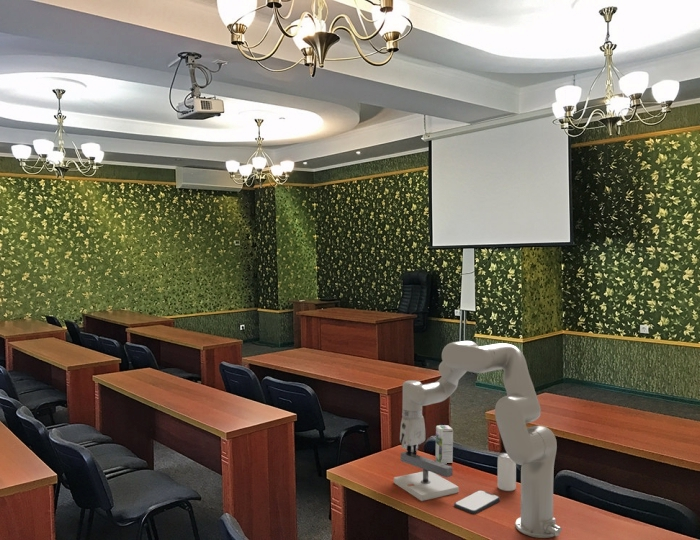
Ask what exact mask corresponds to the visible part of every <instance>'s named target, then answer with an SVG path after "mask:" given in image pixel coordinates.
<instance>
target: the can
mask: <svg viewBox="0 0 700 540" xmlns="http://www.w3.org/2000/svg"><path fill="white" fill-rule="evenodd" d="M497 488H498V489H499V490H500V491H504V492H513V491H515V490H516V488H517V464H516V463H515V462H513V461H512V460H511V459H510V458H509V456H508V454H507V452H501V453H498V457H497Z"/></svg>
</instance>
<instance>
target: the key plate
mask: <svg viewBox="0 0 700 540" xmlns="http://www.w3.org/2000/svg"><path fill="white" fill-rule="evenodd" d="M393 483H394V484H395V485H397V486H398V487H400V488H401V489H402V490H404V491H406V492H408V493H409V494H410V495H411V496H413V497H415V498H417V500H419V501H421V502H424V501H427V500H432V499H437V498H440V497H445V496H448V495H454V494H457V493H459V492H460V491H459V490H460V488H459V486H458V485H456V484H455V483H453V482H451V481H450V480H447V479H446V478H445V477H443V476H441V475H439V474H436V473H433V472H430V471H428V482H427V483H425V482H423V471H419V472H415V473H409V474H404V475H399V476H394V477H393Z"/></svg>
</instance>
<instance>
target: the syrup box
mask: <svg viewBox="0 0 700 540" xmlns="http://www.w3.org/2000/svg"><path fill="white" fill-rule="evenodd" d="M453 447H454V429H453V428H452V427H451V426H449V425H446V424H444V425H443V424H439V425H436V426H435V461H436V462H439V463H442V464H445V465H448V464H447V463H453V460H454V459H453V458H454V457H453V456H454V454H453V453H454V452H453V450H454V448H453ZM453 464H454V463H453Z"/></svg>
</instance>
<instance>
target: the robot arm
mask: <svg viewBox="0 0 700 540" xmlns="http://www.w3.org/2000/svg"><path fill="white" fill-rule="evenodd" d="M441 360H442V361H441V362H440V363H439V365H438V372H439V375H440V376H441V377H440V378H439V379H438V380H436V381H435V382H429V383H424V384H423V383H422V382H421V381H419V380H415V379H414V380H406V381H404V382H403V383H402V413H401V416H402V417H401V422H400V431H399V442H400V444H401V449H404V450H405V451H407V452H410V453H413V454H416V455H418V453H417V452H418V450H419V446H420V445H422V444H423V443H424V442H425V441H426V424H425V418H424V416H423V406H429V405H430V406H431V405H433V404H438V403H442V402H444V401H446V400H447V399H448V398H449V397H451V395H453V393H455V391H456V390H457V388H458V385H459V381H460V379H461V378H462V377H463V376H464V375H465V374H466V373H467V372H469V373H474V374H484V373H489V372H495V371H499V370H503V374H502V378H503V379H502V382H503V386H504V389H505V391H506V395H504V396H503V397H501V398H499V400H497V402H496V403H495V407H494V417H495V421H496V424H497V427H498V431H499V434H500V437H501V440H502V445H503V447H504V450H505V453H507V454H508V456H509V458H510V459H511V460H512V461H513V462H515V463H516V465H520V466H521V468H520V469H521V470H520V517H518V518H516V520H515V522H514V523H515V524H514V525H515V528H516V530H518V531H519V532H520V533H522V534H524V535H526V536H529V537H532V538H539V539H548V538H553V537H559V536H560V533H561V532H562V530H563V529H562V527H561V526H560V525H557V524H556V523H557V522H556V521H557V520H556V518H555V517H554V470H555V469H554V468H555V460H556V455H557V448H558V446H557V443H558V442H557V439H556V438H557V437H556V435H555V434H554V432H553V431H552V430H551V429H549V428H548V427H546V426H543V425H534V426H530V427H528V426H527V424H530V423H533V422H535V421H537V420H538V419H539V418H540V416H541V414H542V409H541V408H542V407H541V405H540V401H539V399H538V396H537V393H536V391H535V387H534V383H533V381H532V378H531V375H530V373H529V369H528V364H527V360H526V358H525V355H524V353H523V351H521V350H520V348H518V347H517V346H516V345H514V344H510V343H503V342H499V343H491V344H486V345H478V344H477V343H476V342H475V341H472V340H461V341H452V342H449V343H447V344H446V345H445V346H444V347H443V349H442V352H441Z"/></svg>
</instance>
